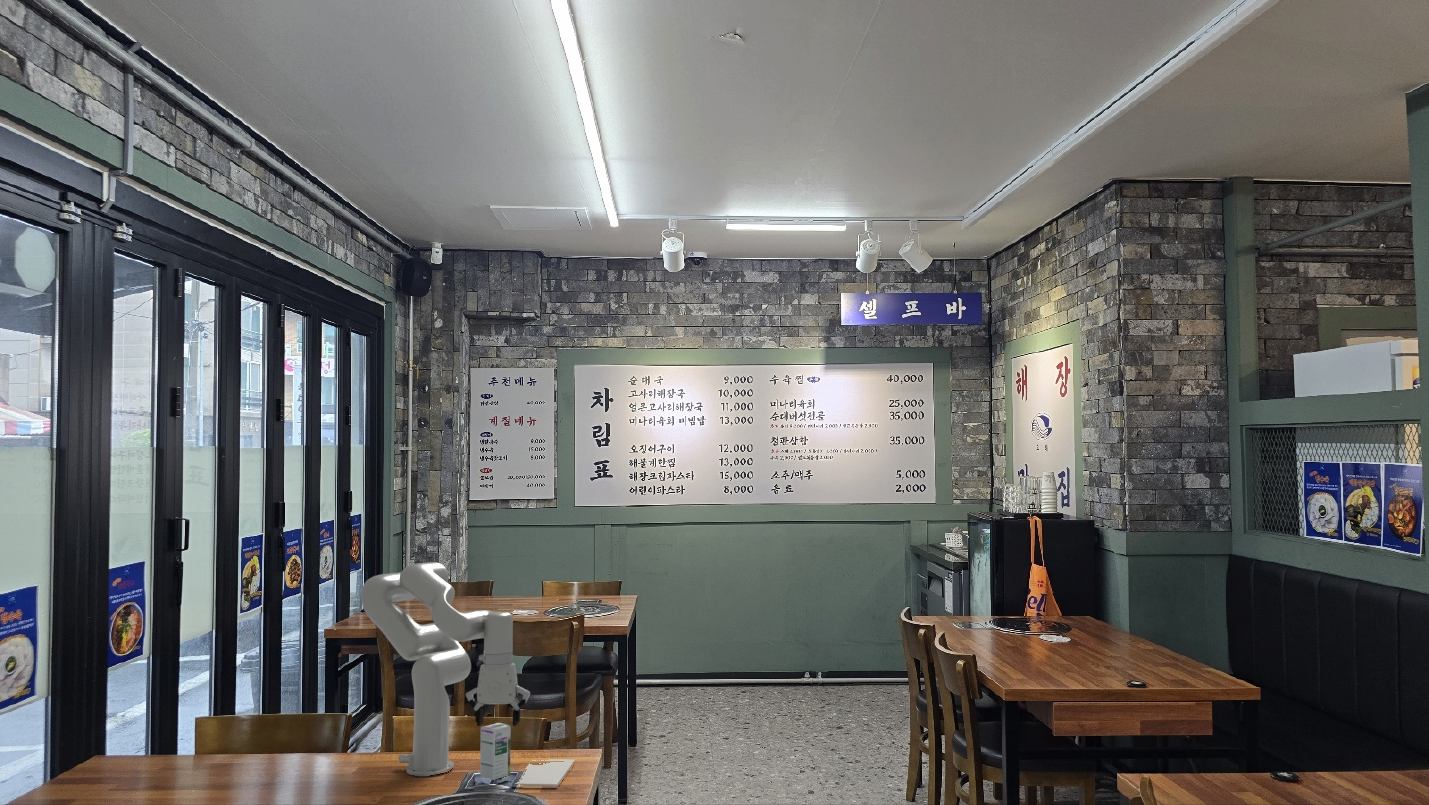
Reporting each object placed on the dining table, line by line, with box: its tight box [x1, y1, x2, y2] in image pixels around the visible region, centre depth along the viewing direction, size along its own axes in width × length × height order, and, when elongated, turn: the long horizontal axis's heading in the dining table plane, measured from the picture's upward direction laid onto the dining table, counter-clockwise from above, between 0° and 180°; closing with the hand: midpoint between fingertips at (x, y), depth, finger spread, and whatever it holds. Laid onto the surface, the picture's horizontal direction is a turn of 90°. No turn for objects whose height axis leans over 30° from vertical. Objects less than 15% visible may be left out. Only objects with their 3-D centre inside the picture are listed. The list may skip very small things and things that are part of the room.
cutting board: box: [515, 758, 576, 786], centre depth 241 cm, size 12×22×1 cm, turn 177°
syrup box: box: [479, 722, 512, 780], centre depth 236 cm, size 6×6×14 cm
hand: (497, 724), depth 237 cm, fingers open, 9 cm apart
